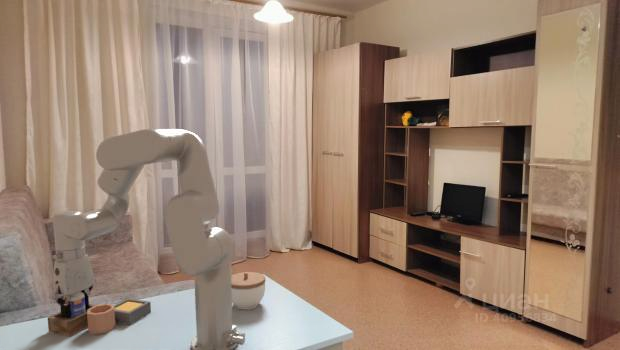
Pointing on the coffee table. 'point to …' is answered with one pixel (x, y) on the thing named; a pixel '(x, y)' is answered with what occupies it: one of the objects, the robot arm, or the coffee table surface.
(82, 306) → the pill bottle
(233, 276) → the lidded bowl
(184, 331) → the coffee table surface
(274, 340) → the coffee table surface
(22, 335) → the coffee table surface
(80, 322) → the trough
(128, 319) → the grey square tray
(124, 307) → the pad
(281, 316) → the coffee table surface
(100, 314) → the octagonal terracotta pot
